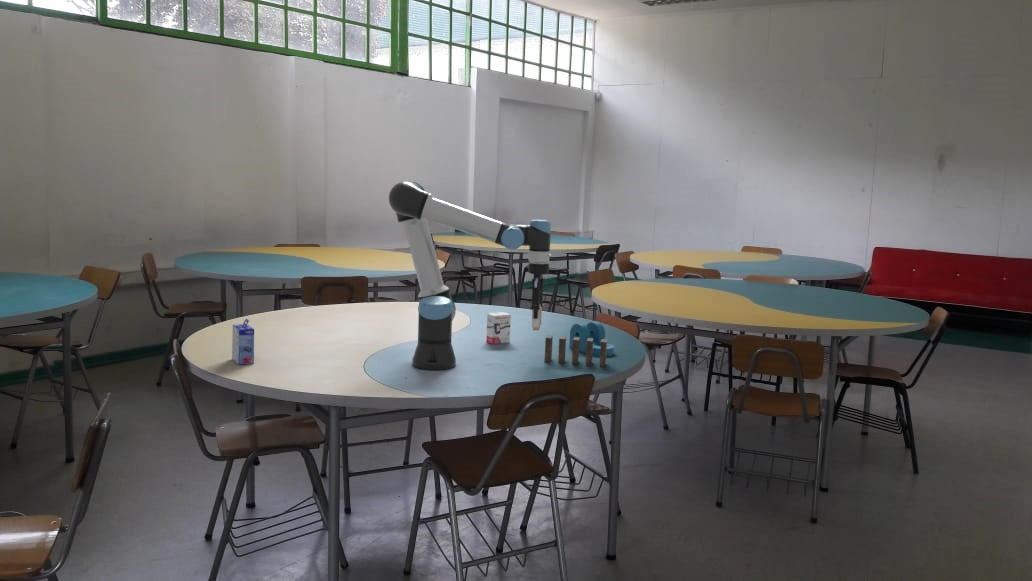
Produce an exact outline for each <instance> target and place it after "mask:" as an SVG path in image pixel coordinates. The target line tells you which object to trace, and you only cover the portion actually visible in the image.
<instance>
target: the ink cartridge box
mask: <svg viewBox="0 0 1032 581" xmlns="http://www.w3.org/2000/svg"><path fill="white" fill-rule="evenodd" d="M249 322H250V320H249V319H248V318H245V319H244V321H243V323H241V324H240V323H239V324H232V339H231V342H232V345H231V349H232V350H231V359H232V360H233V361H234V362H235V363H236V364H237V365H253V364H254V363H255V328H254V327H252V326H251V325H249V324H248V323H249Z"/></svg>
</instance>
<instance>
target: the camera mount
mask: <svg viewBox="0 0 1032 581" xmlns="http://www.w3.org/2000/svg"><path fill="white" fill-rule="evenodd" d="M569 330H570V331H569V348H570V349H572V350H573V339H574V337H580V342H579V352H582V353H585V354H586V349H587V339H588V338H593V354H592V356H594V357H600V348H601V339H606V329H605V327H604V325H603V324H602V323H601V322H599V321H592V322H588V323H587V324H586V323H584V322H582V323H574V324H573V325H572V326H571V328H570V329H569ZM614 354H615V346H614V345H613V344H611V343H607V349H606V357H611V355H612V356H614Z"/></svg>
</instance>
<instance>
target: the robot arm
mask: <svg viewBox="0 0 1032 581" xmlns="http://www.w3.org/2000/svg"><path fill="white" fill-rule="evenodd" d="M388 194H389V195H388V202H389V205H390V207H391V209H392V210H393V211H394V212H395V215H396V218H397V222H398V224H400V225H401V226H403V229H404V232H405V236H406V239H407V242H408V243H407V244H408V247H409V250H410V255H411V258H412V262H413V266H414V270H415V272H416V278H417V281H418V285H419V288H420V292H419V293H418V295H417V297H418V302H419V303H418V307H417V311H418V319H417V320H418V324H417V325H418V326H417V328H418V329H417V345H416V348H415V351H414V355H413V357H412V360H411V361H412V362H411V363H412V367H415V368H416V369H417V368H418V369H420V370H421V369H422V370H426V371H427V370H429V371H442V370H449V369H452V368H455V367H456V364H457V363H456V362H457V358H456V355H455V352H454V349H453V345H452V337H453V336H452V333H453V332H452V330H453V329H452V328H453V320H454V319H455V317H456V311H457V309H456V304H455V302H454V300H453V299H452V295H451V291H450V288H449V287H448V286H447V285H446V284H444V280H443V276H442V272H441V270H440V264H439V261H438V258H437V253H436V250H435V246H434V241H433V238H432V235H431V230H430V227H429V222H428V220H429V221H432V222H435V223H437V224H440V225H443V226H446V227H449V228H452V229H454V230H458V231H460V232H463V233H466V234H468V235H472V236H475V237H477V238H480V239H482V240H486V241H487V242H488V241H489V242H490V243H495V244H496V245H498V246H502V247H505V249H507V250H510V251H514V250H517V249H519V248H520V247H523V246H525V247H529V248H528V267H527V268H528V269H527V272H528V273H529V274H532V275H533V274H534V276H533V278H532V279H531V280H532V281H531V284H532V286H531V287H532V289H531V290H532V292H531V295H532V296H531V307H530V308H529V310H531V328H533V327H538V328H539V321H540V326H541V325H542V317H543V316H542V313H543V307H545V304H544V300H543V299H544V288H545V287H544V283H545V278H544V277H543V275H548V274H549V272H550V263H549V262H550V257H552V254H551V253H550V250H551V234H552V232H551V231H552V230H551V228H552V227H551V226H552V225H551V224H552V223H551V222H550V221H549V220H547V219H531V220H530V221H529V224H510V223H509V224H508V223H504V222H502V221H499V220H496V219H493V218H490V217H489V216H486V215H483V214H479V213H477V212H474V211H471V210H469V209H466V208H463V207H460V206H458V205H455V204H451V203H449V202H446V201H444V200H441V199H438V198H435V197H434V196H433V195H432V193H430V192H427V191H426V190H425V188H423V186H422V185H421V184H420V183H417V182H415V181H411V180H408V181H407V180H406V181H400V182H399V183H396V184H395V185H393V187H392V188H391V189H390V191H389V193H388ZM540 304H541V318H540V310H539V309H540V308H539V306H540ZM536 305H537V306H536Z"/></svg>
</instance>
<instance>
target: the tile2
mask: <svg viewBox="0 0 1032 581" xmlns="http://www.w3.org/2000/svg"><path fill="white" fill-rule="evenodd" d="M553 337H554V336H553V335H552V334H547V335H546V337H545V341H544V342H545V343H544V344H545V345H544V363H550V362H551V361H552V356H553Z"/></svg>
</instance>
